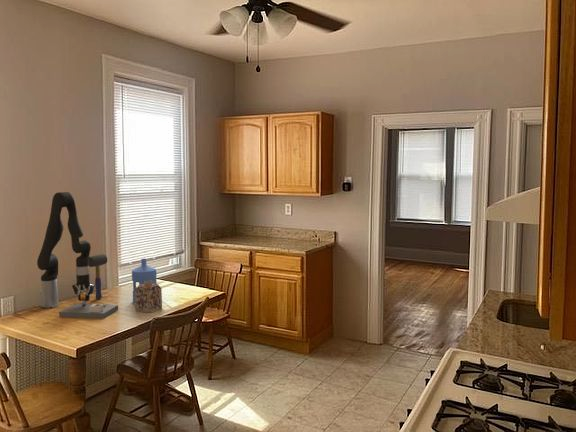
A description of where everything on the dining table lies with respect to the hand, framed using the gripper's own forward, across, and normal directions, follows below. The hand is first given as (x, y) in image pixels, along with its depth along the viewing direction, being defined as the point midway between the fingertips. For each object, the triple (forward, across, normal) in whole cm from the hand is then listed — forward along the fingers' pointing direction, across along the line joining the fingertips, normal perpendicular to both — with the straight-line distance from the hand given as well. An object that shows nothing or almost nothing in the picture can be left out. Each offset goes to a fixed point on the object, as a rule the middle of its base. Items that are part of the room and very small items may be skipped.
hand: (84, 300), depth 310 cm
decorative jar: (+7, +39, +6) cm, 40 cm away
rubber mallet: (+6, -5, +27) cm, 28 cm away
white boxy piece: (+3, +14, -10) cm, 17 cm away
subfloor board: (+6, +6, -5) cm, 10 cm away
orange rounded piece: (+3, 0, 0) cm, 3 cm away
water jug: (+7, +28, +26) cm, 39 cm away
